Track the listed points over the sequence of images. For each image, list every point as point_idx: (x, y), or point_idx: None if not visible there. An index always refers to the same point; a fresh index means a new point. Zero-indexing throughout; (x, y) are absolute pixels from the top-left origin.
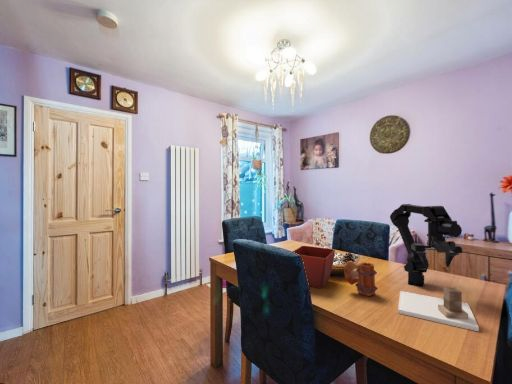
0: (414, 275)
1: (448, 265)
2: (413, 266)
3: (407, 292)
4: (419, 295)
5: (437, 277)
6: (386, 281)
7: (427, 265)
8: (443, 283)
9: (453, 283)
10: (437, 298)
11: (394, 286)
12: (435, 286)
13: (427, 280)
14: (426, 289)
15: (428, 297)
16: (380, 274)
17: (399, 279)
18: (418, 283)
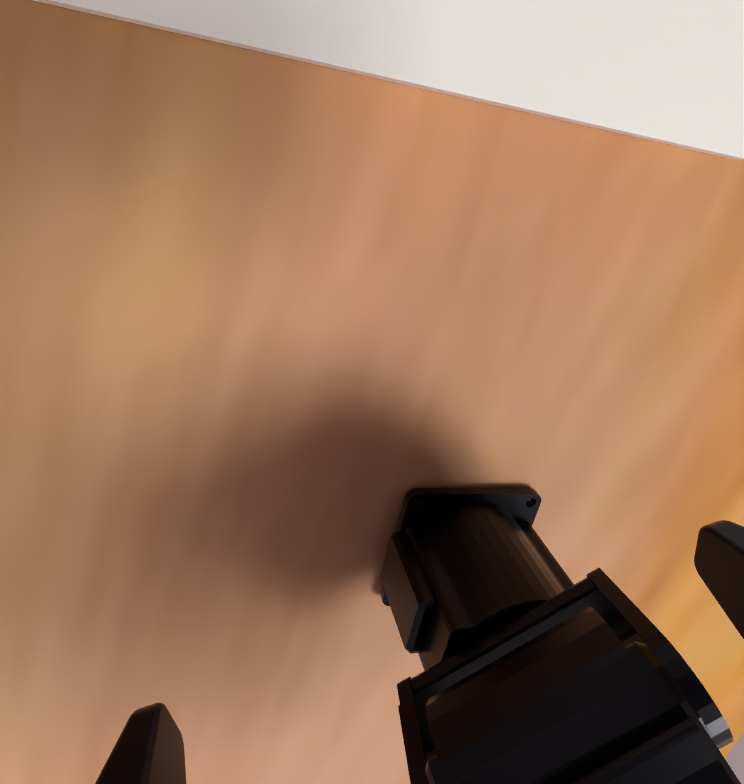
0: (532, 574)
1: (128, 759)
2: (662, 643)
3: (696, 140)
4: (589, 77)
5: (210, 774)
6: (708, 471)
7: (450, 761)
8: (179, 668)
9: (78, 713)
10: (379, 42)
11: (688, 373)
12: (275, 557)
13: (319, 667)
14: (390, 432)
15: (494, 36)
16: (687, 608)
17: (570, 573)
18: (453, 515)
